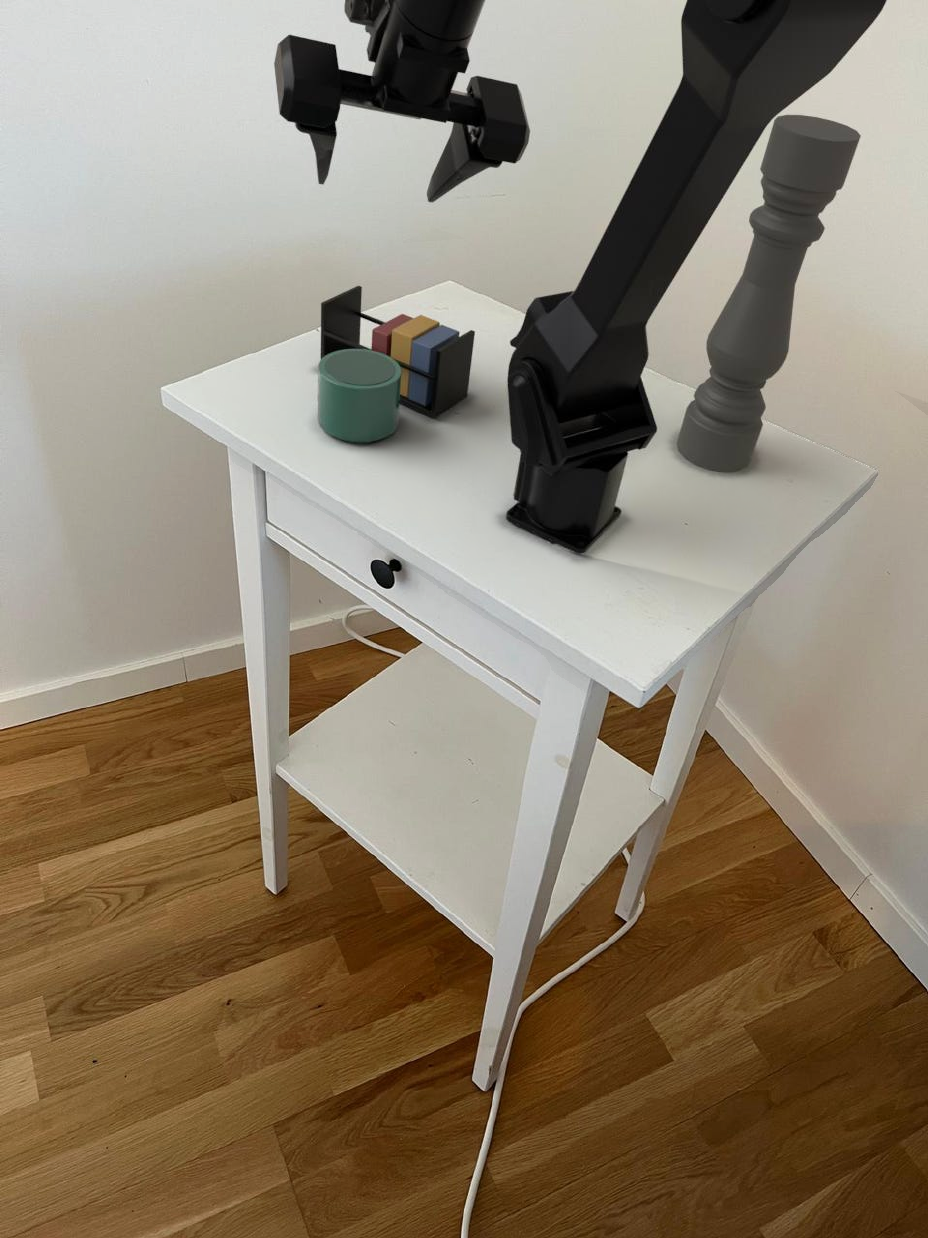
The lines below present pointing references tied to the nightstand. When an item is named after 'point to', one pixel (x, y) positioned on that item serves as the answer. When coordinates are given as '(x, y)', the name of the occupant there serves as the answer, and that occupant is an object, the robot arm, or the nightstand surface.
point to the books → (413, 350)
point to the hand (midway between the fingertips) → (376, 189)
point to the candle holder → (765, 290)
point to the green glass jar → (358, 395)
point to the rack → (450, 365)
